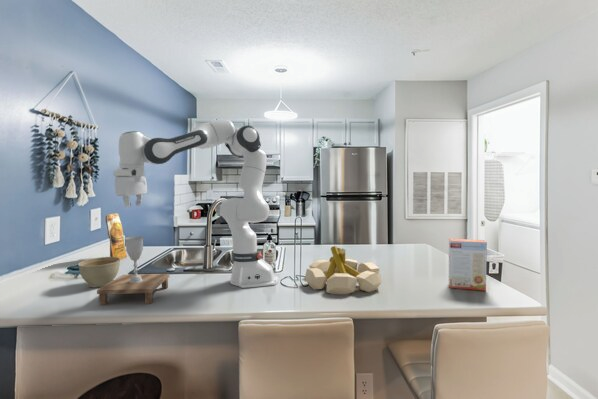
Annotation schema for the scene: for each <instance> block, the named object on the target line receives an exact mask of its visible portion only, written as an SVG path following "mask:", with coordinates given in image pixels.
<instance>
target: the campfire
mask: <svg viewBox="0 0 598 399" xmlns="http://www.w3.org/2000/svg"><path fill="white" fill-rule="evenodd" d="M330 251H331V253H332V256H331V257H330V258H329V260H326V259H318V260H314V261H313V262H311V263H310V264H309V267H308V268H306V271H305V276H304V280H306V282H307V284H308V286H309V287H310V288H311V289H313V290H322V289H324V287H325V286H326V291H325V292H326V293H328V294H333V295H349V294H351V293H354V292H355V290H356V286H357V284H358V287H359V289H360V291H363V292H367V293H372V292H375V291H376V290H378V289H379V287H380V286H381V284H382V277H381V274H380V267H378V266H377V265H376V264H375V263H373V262H371V261H370V262H361V263H359V264H358V260H355V259H351V258H346V249H345V248H343V247H342V248H341V247H340V248H339V247H337V246H335V245H334V246H331V248H330Z"/></svg>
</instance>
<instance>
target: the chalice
mask: <svg viewBox="0 0 598 399" xmlns="http://www.w3.org/2000/svg"><path fill="white" fill-rule="evenodd" d="M144 238H145V237H144V236H128V237H125V238H124V241H125V250H126V254H127V256H128V257H129V258H130V260H131V261H133V272H134V273H133V274H134V275H133V274H132V275H133V276H132V277H131V279H130V281H129V283H139V282H142V281H143V280H142V278H141V276H140V275H138V271H139V269H138V261H139V259H140V258H141V256H142V253H143V250H144V241H143V240H144Z"/></svg>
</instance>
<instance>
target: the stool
mask: <svg viewBox="0 0 598 399" xmlns="http://www.w3.org/2000/svg"><path fill="white" fill-rule="evenodd" d="M137 274H138V273H137ZM133 275H134V273H133V274H122V275H120V276H118V277H116V278H114V279H113V281H112V282H110V283H108V284H107V285H105V286H103V287H99V288H97V290H96V295H98V297H99V298H98V300H99V306H106V305H107V304H109V298H108V296H109V295H111V294H112V295H117V294H118V295H119V294H144V300H145V301H144V304H145V305H150V304H153V303H154V302H153V300H154V297H153V292H154V291H155V290H157V288H159V287H160V286H161V289H162V290H167V289H168V288H169V278H170V273H141V274H140V273H139V274H138V275H140V276H141V278H142V280H143V281H142V282H139V283H129V281H130V279H131V277H132V276H133Z"/></svg>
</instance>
